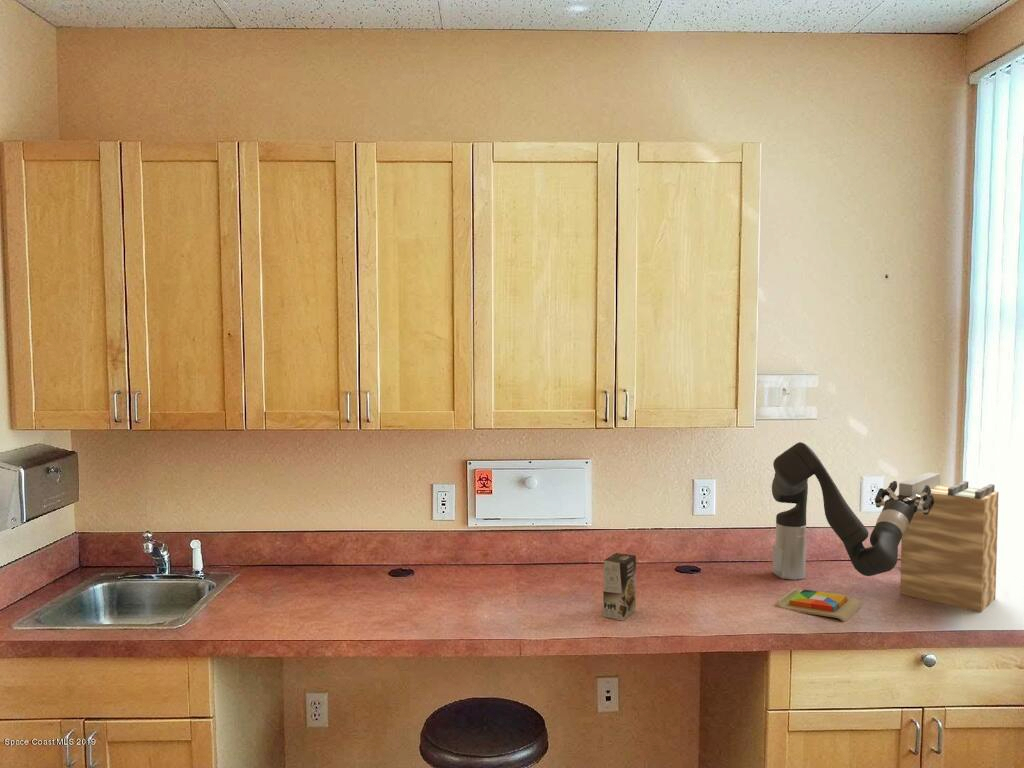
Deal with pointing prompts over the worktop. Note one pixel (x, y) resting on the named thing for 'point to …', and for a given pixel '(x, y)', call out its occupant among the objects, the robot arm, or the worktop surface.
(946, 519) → the maple block
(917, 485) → the light gray bar
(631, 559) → the coffee box
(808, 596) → the wooden puzzle
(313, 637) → the worktop surface
